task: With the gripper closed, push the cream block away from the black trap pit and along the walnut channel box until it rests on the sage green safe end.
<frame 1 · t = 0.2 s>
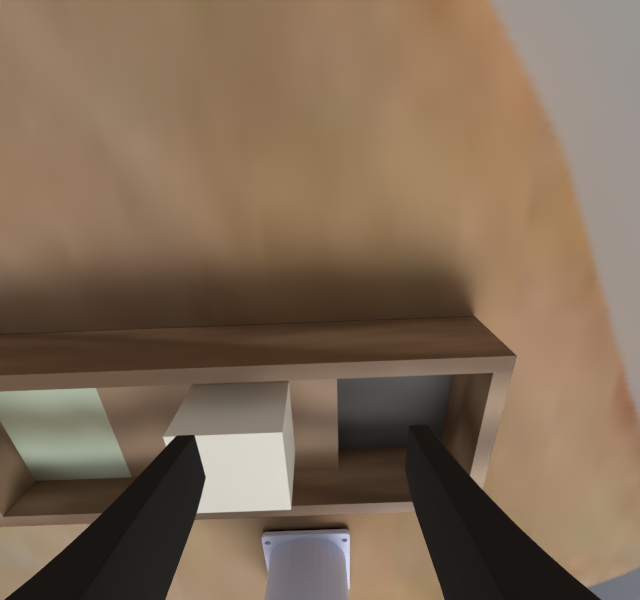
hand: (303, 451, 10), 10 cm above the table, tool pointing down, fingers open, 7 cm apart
trap box: (238, 399, 22), on the table
cream block: (246, 420, 20), point 2 cm above the table, touching trap box
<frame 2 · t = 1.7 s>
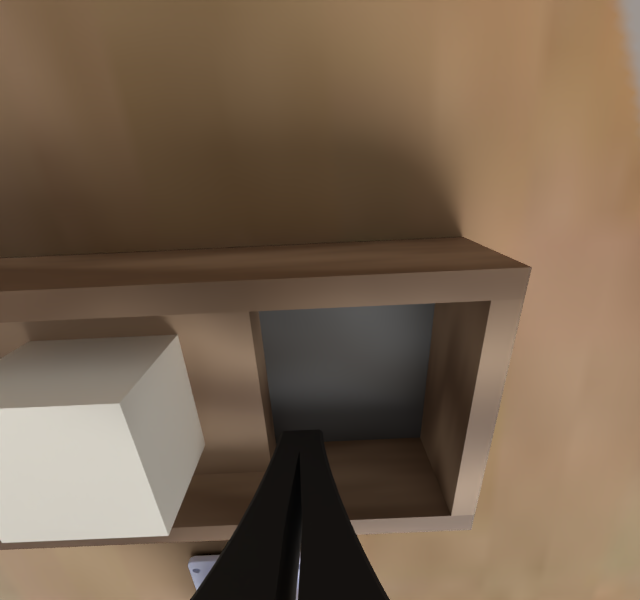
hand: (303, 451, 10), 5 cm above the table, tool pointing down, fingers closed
trap box: (127, 371, 15), on the table
cream block: (124, 397, 14), point 2 cm above the table, touching trap box
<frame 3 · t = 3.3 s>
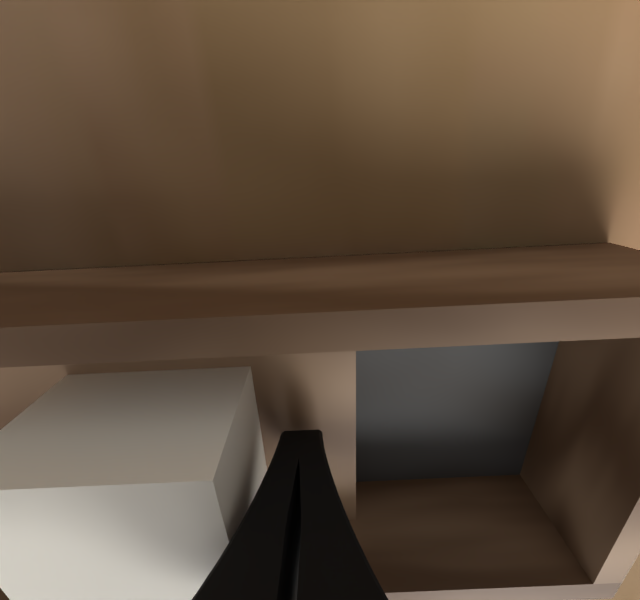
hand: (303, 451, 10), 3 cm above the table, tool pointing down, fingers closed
trap box: (185, 401, 13), on the table
cream block: (179, 439, 11), point 2 cm above the table, touching gripper
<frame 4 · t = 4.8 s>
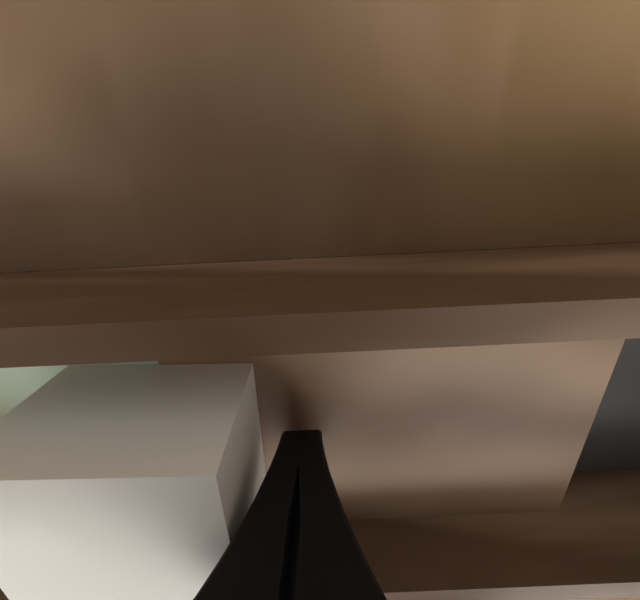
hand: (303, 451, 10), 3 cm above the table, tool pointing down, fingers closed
trap box: (388, 392, 13), on the table
cream block: (178, 434, 11), point 2 cm above the table, touching gripper
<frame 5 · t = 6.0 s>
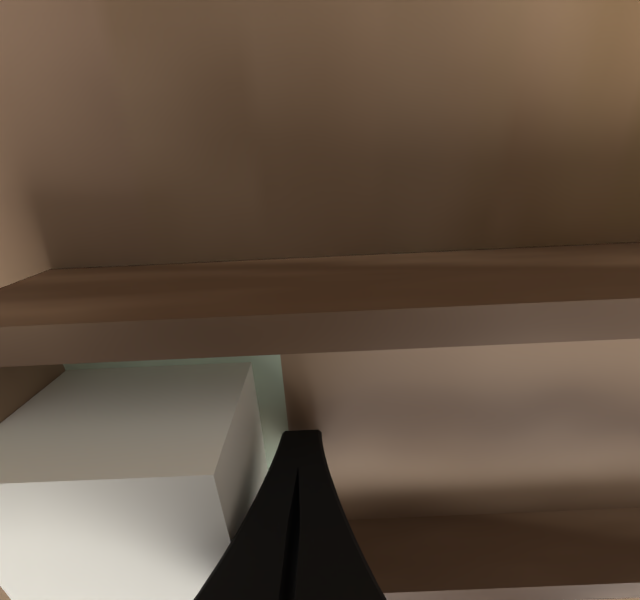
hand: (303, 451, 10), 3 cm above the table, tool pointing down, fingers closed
trap box: (481, 388, 13), on the table
cream block: (179, 435, 11), point 2 cm above the table, touching gripper, trap box
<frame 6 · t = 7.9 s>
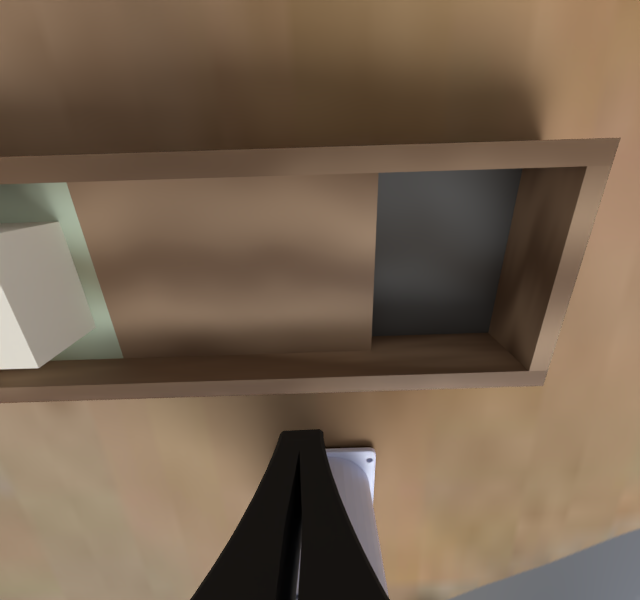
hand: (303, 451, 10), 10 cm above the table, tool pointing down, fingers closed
trap box: (252, 265, 19), on the table
cream block: (23, 279, 17), point 2 cm above the table, touching trap box
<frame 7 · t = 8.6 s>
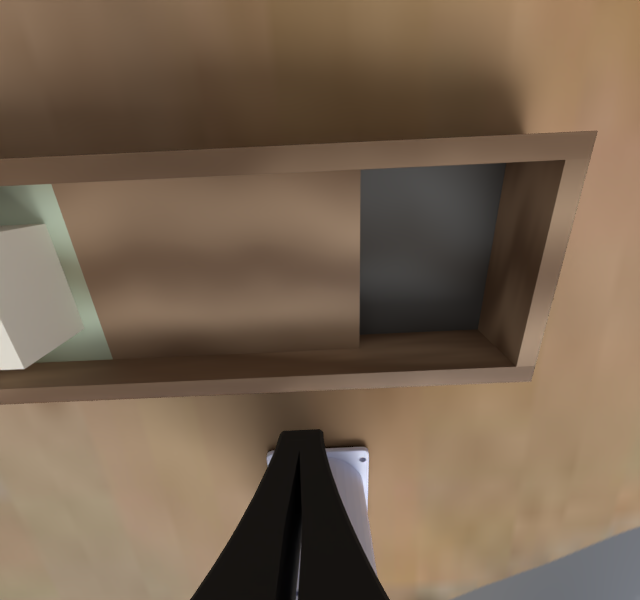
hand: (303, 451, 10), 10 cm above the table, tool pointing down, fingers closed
trap box: (239, 264, 19), on the table
cream block: (11, 282, 17), point 2 cm above the table, touching trap box
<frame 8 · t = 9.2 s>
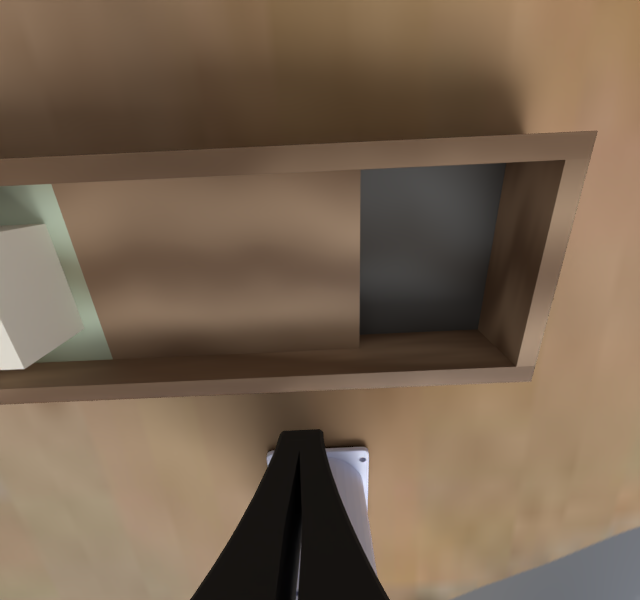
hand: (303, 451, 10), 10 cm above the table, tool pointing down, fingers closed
trap box: (239, 264, 19), on the table
cream block: (11, 282, 17), point 2 cm above the table, touching trap box
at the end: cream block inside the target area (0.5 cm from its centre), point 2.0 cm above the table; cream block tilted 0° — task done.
